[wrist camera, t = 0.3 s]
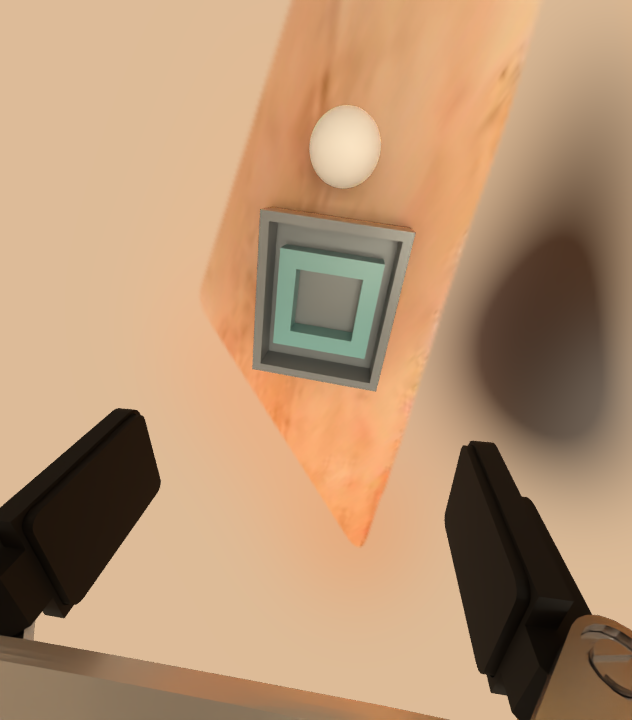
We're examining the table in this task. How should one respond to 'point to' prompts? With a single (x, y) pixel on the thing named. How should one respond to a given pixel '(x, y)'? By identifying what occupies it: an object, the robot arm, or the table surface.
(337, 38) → the table surface
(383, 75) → the table surface
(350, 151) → the lightbulb
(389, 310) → the open box
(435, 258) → the table surface
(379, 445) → the table surface
